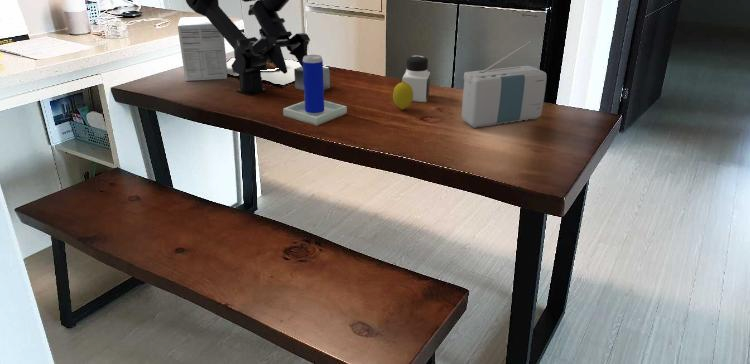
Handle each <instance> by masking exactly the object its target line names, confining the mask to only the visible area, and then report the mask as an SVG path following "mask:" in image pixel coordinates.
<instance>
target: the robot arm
mask: <svg viewBox="0 0 750 364" xmlns="http://www.w3.org/2000/svg"><path fill="white" fill-rule="evenodd" d="M241 1H243V2H244V3H248V2H252V1H253V2H254V1H255V2H254V4H249V8H248V10H247V11H248V12H247V15H248V16H253V15H254V17H255V19H256V21H257V22H258V24H259V26H260V28H259V30H258V32H259V36H260V38H259V39H258V38H257V37H256V36H253V37H247V36H246V35H245V34H244V32H242V31H241V30H240V29H239V27H238V26H237V25H236V24H235V22H233V20H231V18H230V17H229V16H228V15H227V14H226V13H225V12H224V10H223V9H222V8H221V6H219V5H220V4H219V0H185V2H186V4H187V6H188V8H190V9H191V10H192V11H193V12H195V13H197V14H198V15H201V16H202V17H207V18H208V20H209V21H210V22H211V23H212V24H213V25H214V26H215V28H216V29H217V30H218V31H219V32H220V33H221V35H222V36H223V37H224V40H226V41H227V43H228V44H229V45H230V46H231V47H232V49H233V55H234V61H233V63H232V64H231V69H232V72H233V73H234V74H237V75H238V78H239V79H238V80H239V87H240V88H237V89H236V92H238V93H241V94H244V95H248V96H253V95H256V94H260V93H262V92H265V91H266V92H267V89H266V87H263V78H262V72H261V71H260V70H265V69H266V63H267V59H269V60H270V61H271V62H272V63H273V64H274V65H276V66H277V67H278V68H279V69H280V70H279V69H278V70H279V71H281V72H282V73H283V74H284V75H285V74H287V73H288V67H287V65H286V61H285V58H284V54H283V51H282V48H286V49H287V51H289V54H290V55H292V56H294V57H295V58H296V60H297V61H298V63H299V64H300V67H303V57H304V56H306V55H308V45H309V44H310V43H309V42H310V41H311V39H310V37H309V34H308V33H304V32H301V33H295V34H294V35H293V34H292V33H293V32H292V31H287V29H286V27H285V25H284V23H285V22H286V20H285V18H283V17H281V18H280V15H279V14H278V12H280V11H281V10H282V9H283V8H284V7H286V5H287V3H288V2H289V1H290V0H241Z"/></svg>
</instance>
